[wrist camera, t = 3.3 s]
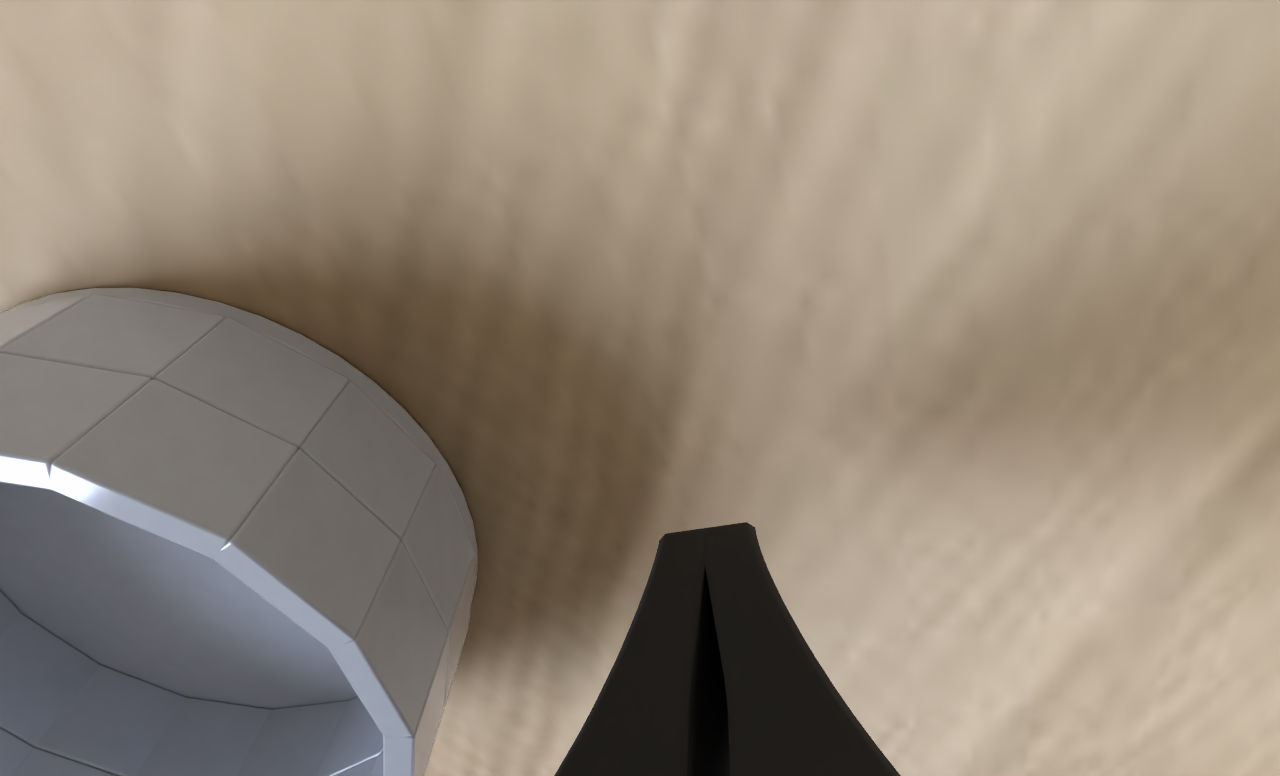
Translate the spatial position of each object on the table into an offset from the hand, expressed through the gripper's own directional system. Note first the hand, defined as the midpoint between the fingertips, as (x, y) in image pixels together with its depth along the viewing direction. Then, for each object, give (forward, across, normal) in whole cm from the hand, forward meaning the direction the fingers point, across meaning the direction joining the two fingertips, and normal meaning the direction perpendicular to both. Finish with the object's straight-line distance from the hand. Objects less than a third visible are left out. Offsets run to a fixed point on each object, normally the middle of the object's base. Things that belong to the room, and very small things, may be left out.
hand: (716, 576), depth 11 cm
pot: (+3, +10, 0) cm, 11 cm away
